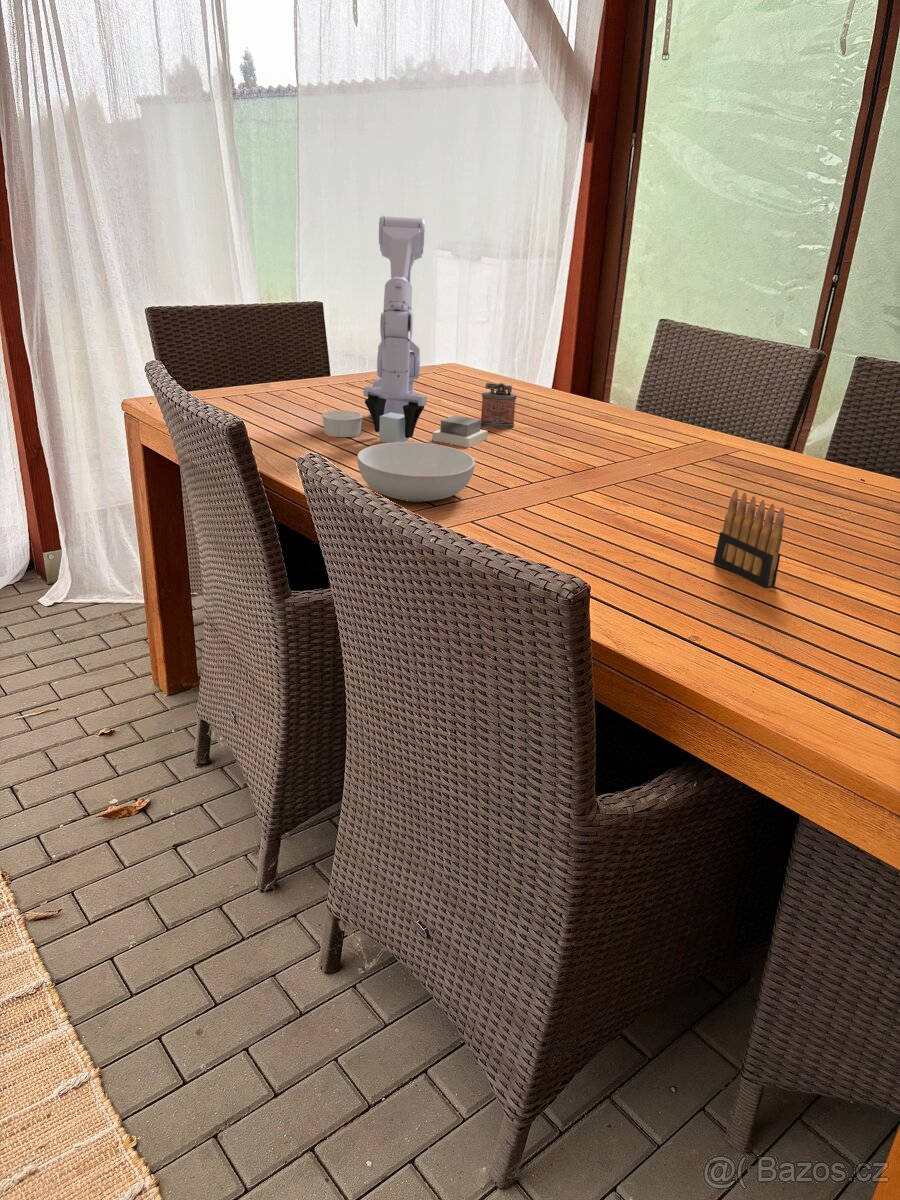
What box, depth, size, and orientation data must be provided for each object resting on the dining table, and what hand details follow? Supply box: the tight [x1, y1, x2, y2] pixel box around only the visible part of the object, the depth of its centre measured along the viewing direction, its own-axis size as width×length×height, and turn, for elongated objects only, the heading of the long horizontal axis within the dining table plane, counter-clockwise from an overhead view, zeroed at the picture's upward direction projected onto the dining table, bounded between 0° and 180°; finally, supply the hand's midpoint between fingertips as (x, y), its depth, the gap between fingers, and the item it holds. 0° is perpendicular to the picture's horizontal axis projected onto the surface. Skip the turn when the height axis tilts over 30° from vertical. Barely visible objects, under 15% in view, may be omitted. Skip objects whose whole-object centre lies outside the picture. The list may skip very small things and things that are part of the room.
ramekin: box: [321, 409, 363, 438], centre depth 195 cm, size 9×9×4 cm
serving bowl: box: [356, 441, 476, 503], centre depth 159 cm, size 21×21×7 cm
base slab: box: [431, 428, 488, 449], centre depth 196 cm, size 9×9×2 cm
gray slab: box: [439, 415, 481, 437], centre depth 195 cm, size 6×6×2 cm
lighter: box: [480, 382, 518, 429], centre depth 207 cm, size 8×3×10 cm, turn 84°
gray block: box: [378, 412, 409, 443], centre depth 191 cm, size 4×4×6 cm
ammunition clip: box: [713, 489, 785, 589], centre depth 131 cm, size 11×2×12 cm, turn 29°
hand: (393, 434), depth 192 cm, fingers open, 7 cm apart
